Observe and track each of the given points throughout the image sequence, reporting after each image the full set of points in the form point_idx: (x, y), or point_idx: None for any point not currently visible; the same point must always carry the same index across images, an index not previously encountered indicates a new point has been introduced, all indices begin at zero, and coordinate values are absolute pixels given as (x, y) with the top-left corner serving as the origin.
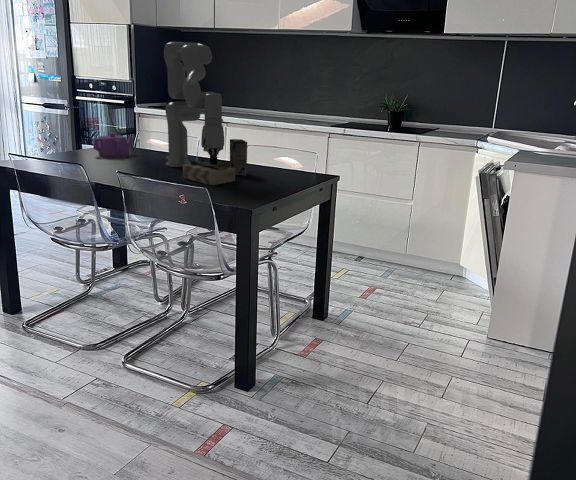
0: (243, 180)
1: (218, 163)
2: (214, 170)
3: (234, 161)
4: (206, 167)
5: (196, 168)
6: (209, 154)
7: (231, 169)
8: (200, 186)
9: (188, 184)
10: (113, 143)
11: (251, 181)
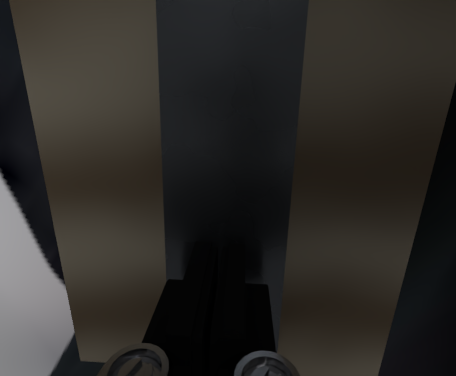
0: (401, 309)
1: (275, 309)
2: (137, 343)
3: None
4: None
5: (42, 155)
6: (122, 368)
7: (323, 371)
8: (52, 261)
9: (9, 170)
10: None
11: (409, 354)
